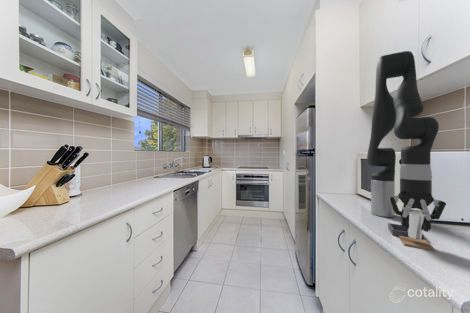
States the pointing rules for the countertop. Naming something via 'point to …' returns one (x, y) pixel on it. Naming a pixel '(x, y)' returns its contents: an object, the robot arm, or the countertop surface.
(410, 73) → the robot arm
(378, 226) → the countertop surface
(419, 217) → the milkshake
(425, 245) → the pad
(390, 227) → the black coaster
